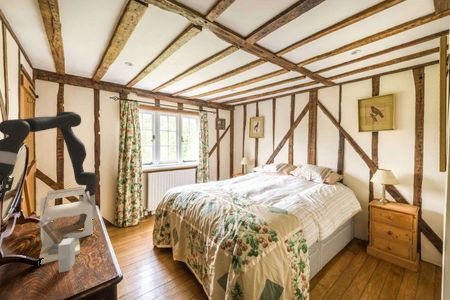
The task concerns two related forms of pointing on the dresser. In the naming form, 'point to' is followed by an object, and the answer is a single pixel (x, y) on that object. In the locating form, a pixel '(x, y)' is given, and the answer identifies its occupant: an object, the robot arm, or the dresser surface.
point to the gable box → (67, 214)
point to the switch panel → (55, 256)
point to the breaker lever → (51, 230)
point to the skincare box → (66, 254)
